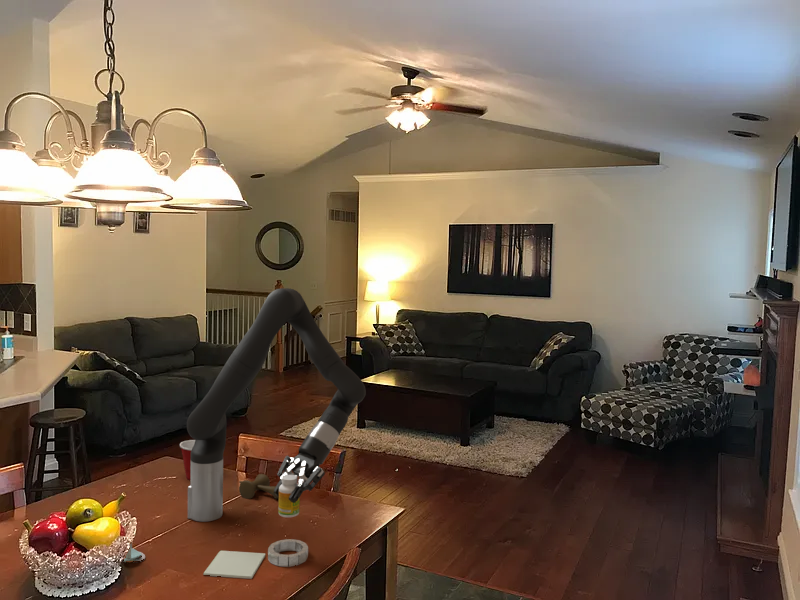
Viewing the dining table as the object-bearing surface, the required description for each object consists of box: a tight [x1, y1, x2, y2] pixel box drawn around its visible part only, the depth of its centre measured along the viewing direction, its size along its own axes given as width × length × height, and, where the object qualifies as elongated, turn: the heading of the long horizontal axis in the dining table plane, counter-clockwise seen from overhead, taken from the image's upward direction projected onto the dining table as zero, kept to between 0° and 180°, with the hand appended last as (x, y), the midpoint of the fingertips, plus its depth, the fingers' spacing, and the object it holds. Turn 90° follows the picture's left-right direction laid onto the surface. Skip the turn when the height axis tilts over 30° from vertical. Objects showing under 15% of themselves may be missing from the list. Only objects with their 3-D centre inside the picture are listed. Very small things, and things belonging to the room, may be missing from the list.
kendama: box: [238, 473, 279, 500], centre depth 211 cm, size 6×10×20 cm
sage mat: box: [203, 550, 266, 580], centre depth 165 cm, size 12×12×1 cm
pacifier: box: [123, 543, 146, 563], centre depth 166 cm, size 7×6×6 cm
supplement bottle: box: [277, 475, 301, 518], centre depth 169 cm, size 5×5×10 cm
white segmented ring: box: [267, 538, 309, 568], centre depth 170 cm, size 10×10×2 cm
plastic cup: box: [179, 439, 196, 481], centre depth 224 cm, size 11×11×12 cm
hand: (283, 497), depth 168 cm, fingers closed on supplement bottle, 5 cm apart
